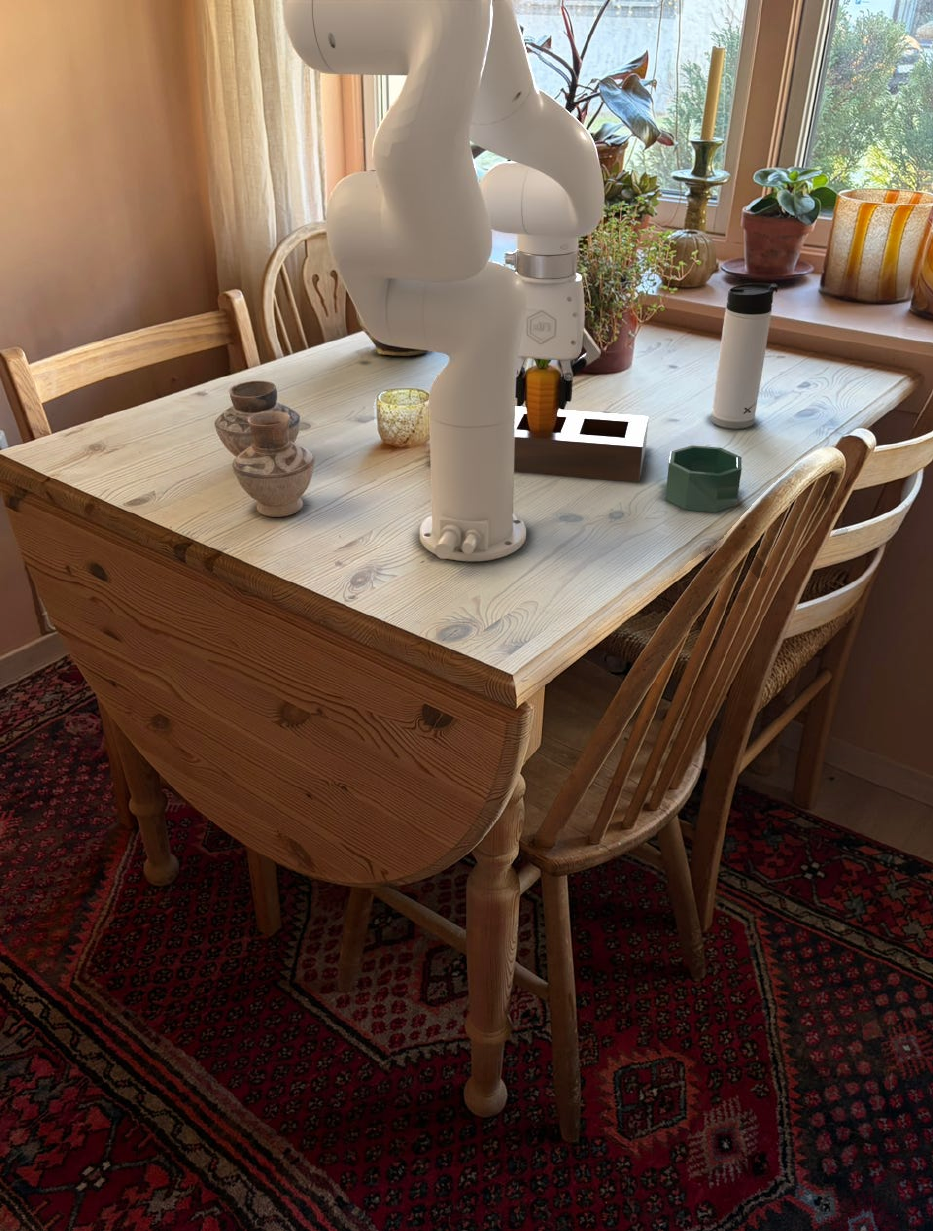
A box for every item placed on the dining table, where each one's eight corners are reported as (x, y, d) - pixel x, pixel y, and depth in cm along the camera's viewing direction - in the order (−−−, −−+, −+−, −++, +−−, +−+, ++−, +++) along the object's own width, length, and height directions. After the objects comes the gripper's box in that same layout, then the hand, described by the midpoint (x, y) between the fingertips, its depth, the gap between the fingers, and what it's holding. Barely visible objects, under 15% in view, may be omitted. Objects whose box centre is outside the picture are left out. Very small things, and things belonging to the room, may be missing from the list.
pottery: (241, 532, 119) (227, 438, 112) (216, 454, 139) (203, 371, 132) (333, 517, 122) (325, 425, 115) (296, 443, 142) (287, 361, 135)
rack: (639, 482, 130) (642, 446, 127) (432, 464, 135) (431, 430, 132) (645, 450, 139) (648, 416, 136) (451, 434, 144) (451, 401, 141)
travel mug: (757, 431, 144) (779, 291, 134) (711, 427, 145) (729, 289, 135) (755, 415, 149) (776, 279, 139) (710, 412, 151) (728, 277, 140)
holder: (736, 514, 122) (741, 477, 119) (663, 508, 123) (667, 471, 121) (736, 484, 129) (741, 449, 126) (667, 479, 130) (671, 443, 128)
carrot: (519, 453, 135) (522, 343, 126) (526, 439, 139) (529, 332, 131) (555, 456, 134) (560, 346, 125) (561, 442, 138) (566, 335, 130)
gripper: (473, 268, 121) (474, 409, 131) (612, 275, 118) (602, 419, 128) (486, 254, 128) (485, 390, 137) (618, 260, 124) (608, 399, 134)
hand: (542, 403), depth 133 cm, fingers closed on carrot, 5 cm apart
